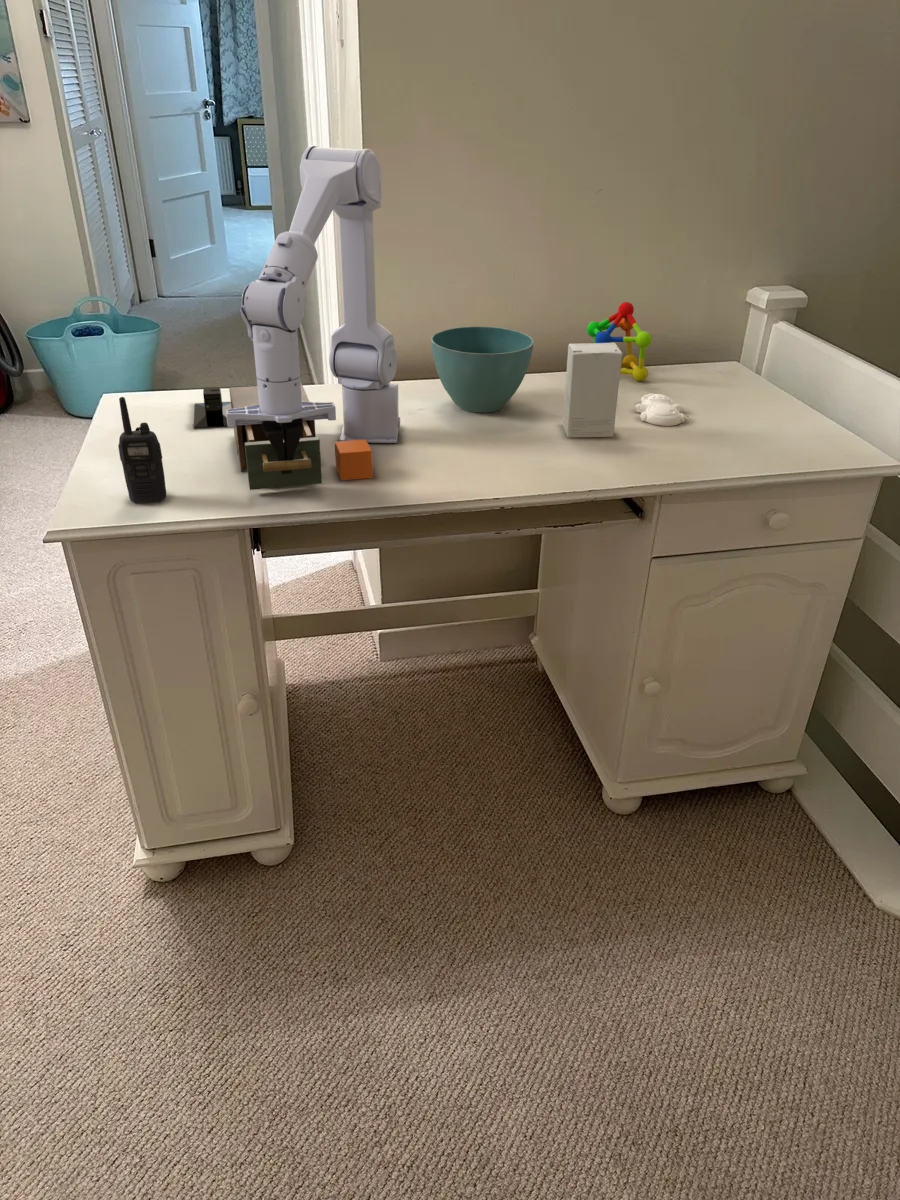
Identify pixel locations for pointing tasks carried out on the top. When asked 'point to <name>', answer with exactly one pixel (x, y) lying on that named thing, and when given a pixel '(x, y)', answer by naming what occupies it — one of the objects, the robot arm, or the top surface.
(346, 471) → the block
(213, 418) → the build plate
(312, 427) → the cabinet
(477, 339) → the plant pot
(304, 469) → the drawer
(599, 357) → the cosmetic box
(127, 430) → the two-way radio
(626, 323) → the educational toy
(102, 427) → the top surface
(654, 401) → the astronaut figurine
